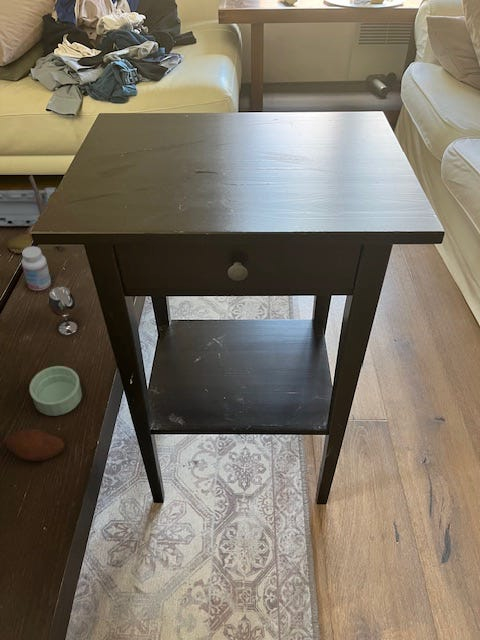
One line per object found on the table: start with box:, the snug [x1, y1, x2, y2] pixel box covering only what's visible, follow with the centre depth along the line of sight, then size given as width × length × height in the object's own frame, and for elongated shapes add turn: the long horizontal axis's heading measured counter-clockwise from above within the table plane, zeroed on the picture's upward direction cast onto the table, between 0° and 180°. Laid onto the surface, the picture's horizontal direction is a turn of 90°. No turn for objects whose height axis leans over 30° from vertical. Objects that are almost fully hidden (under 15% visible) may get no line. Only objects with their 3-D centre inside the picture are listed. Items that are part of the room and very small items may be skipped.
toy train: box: [0, 187, 57, 227], centre depth 153 cm, size 11×28×15 cm
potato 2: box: [5, 428, 65, 462], centre depth 99 cm, size 6×12×6 cm, turn 89°
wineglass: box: [48, 286, 78, 336], centre depth 121 cm, size 6×6×12 cm
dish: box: [29, 365, 83, 417], centre depth 109 cm, size 10×10×5 cm
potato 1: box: [6, 233, 38, 250], centre depth 143 cm, size 7×8×8 cm
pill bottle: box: [21, 246, 52, 292], centre depth 131 cm, size 6×6×11 cm
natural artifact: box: [28, 174, 62, 251], centre depth 145 cm, size 4×23×4 cm
